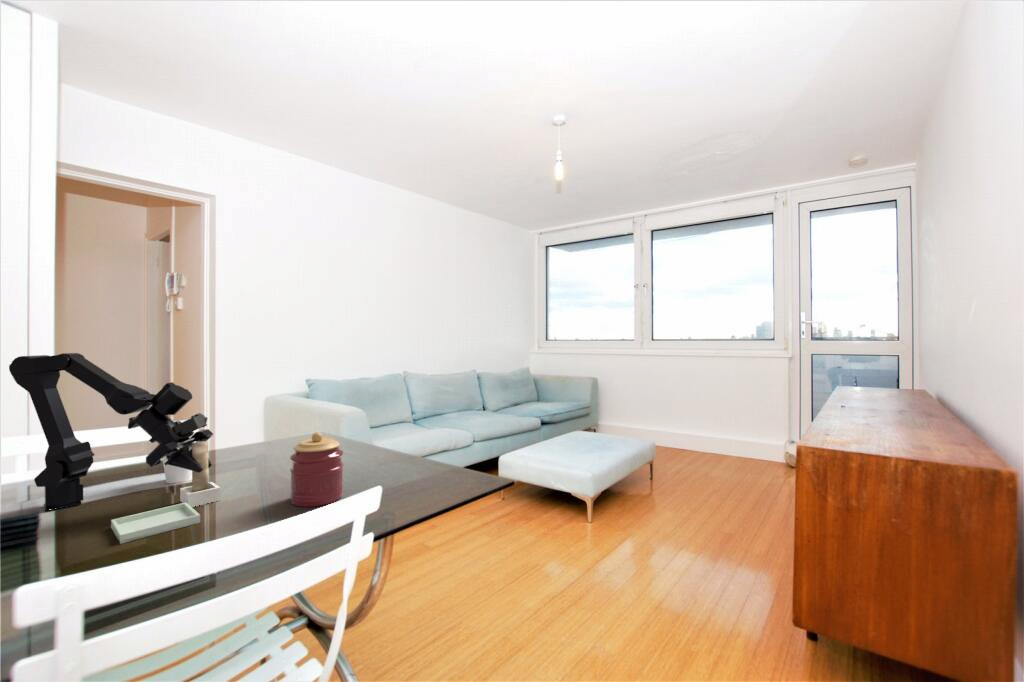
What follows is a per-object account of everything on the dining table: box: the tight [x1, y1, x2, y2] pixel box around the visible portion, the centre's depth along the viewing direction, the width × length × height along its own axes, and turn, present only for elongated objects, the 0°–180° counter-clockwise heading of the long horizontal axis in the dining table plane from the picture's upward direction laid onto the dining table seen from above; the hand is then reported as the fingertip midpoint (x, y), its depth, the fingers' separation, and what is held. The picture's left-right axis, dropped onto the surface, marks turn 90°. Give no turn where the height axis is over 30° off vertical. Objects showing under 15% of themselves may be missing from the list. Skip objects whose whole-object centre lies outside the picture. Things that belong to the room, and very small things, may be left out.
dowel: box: [191, 440, 209, 493], centre depth 117 cm, size 4×4×14 cm
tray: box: [110, 502, 201, 545], centre depth 102 cm, size 14×12×2 cm
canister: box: [289, 431, 345, 508], centre depth 118 cm, size 13×13×18 cm
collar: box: [179, 481, 221, 508], centre depth 117 cm, size 7×7×4 cm
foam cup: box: [161, 433, 195, 484], centre depth 134 cm, size 10×9×13 cm
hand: (205, 468), depth 117 cm, fingers closed on dowel, 3 cm apart
